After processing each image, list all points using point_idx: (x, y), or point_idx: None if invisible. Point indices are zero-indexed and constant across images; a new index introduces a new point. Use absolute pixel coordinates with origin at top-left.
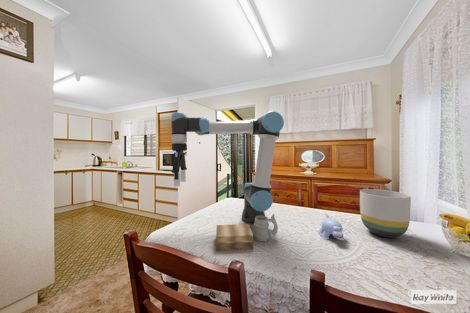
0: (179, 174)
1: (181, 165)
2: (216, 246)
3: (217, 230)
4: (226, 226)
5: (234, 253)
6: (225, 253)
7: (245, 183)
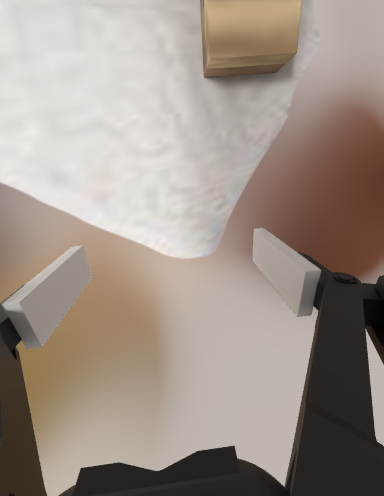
0: (308, 261)
1: (18, 389)
2: (281, 66)
3: (253, 50)
4: (224, 7)
5: None
6: None
7: None
